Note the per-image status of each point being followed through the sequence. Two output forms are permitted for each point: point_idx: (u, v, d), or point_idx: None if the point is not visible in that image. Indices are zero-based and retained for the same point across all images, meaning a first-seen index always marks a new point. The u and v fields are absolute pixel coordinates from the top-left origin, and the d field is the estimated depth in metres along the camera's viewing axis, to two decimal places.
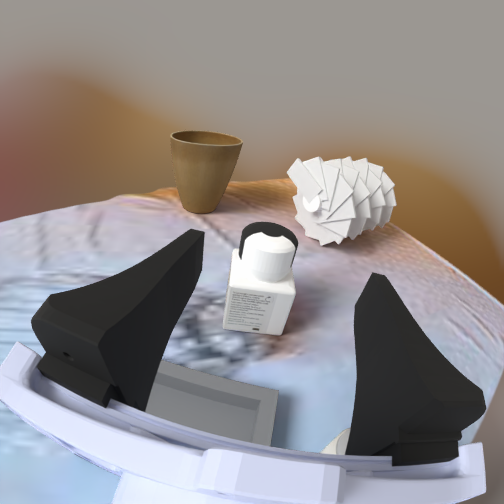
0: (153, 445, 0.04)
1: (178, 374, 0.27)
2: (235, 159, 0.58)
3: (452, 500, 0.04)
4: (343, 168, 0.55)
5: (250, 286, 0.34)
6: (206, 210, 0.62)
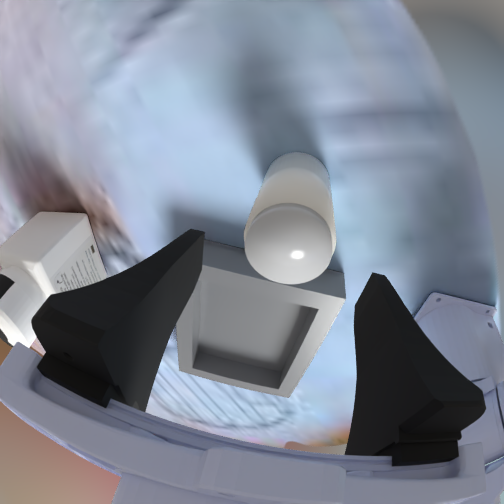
0: (153, 445, 0.04)
1: (187, 340, 0.28)
2: None
3: (452, 500, 0.04)
4: None
5: None
6: None
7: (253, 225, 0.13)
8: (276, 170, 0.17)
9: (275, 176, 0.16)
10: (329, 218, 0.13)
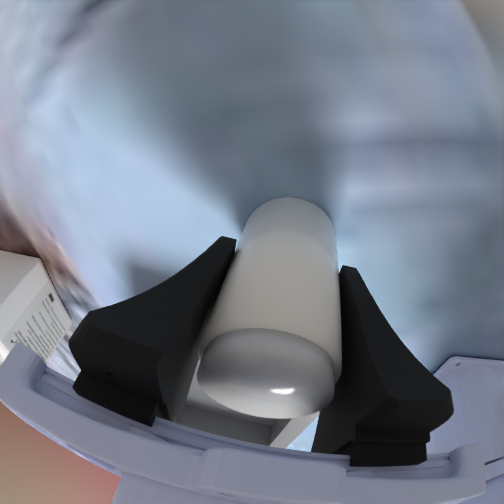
0: (153, 445, 0.04)
1: None
2: None
3: (452, 500, 0.04)
4: None
5: None
6: None
7: (206, 362, 0.08)
8: (254, 236, 0.11)
9: (250, 252, 0.10)
10: (333, 347, 0.08)
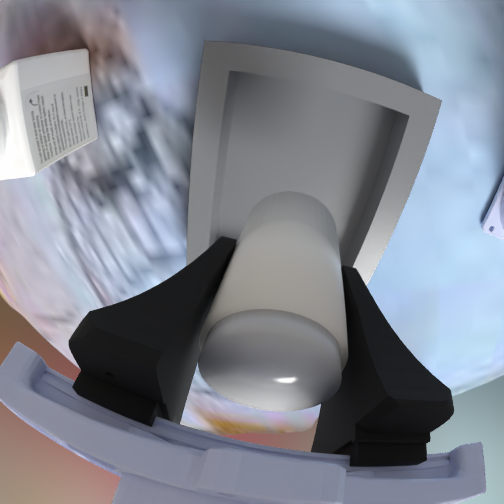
0: (153, 445, 0.04)
1: (205, 204, 0.19)
2: None
3: (452, 500, 0.04)
4: None
5: (23, 142, 0.13)
6: None
7: (209, 345, 0.07)
8: (258, 226, 0.11)
9: (254, 240, 0.10)
10: (340, 331, 0.07)
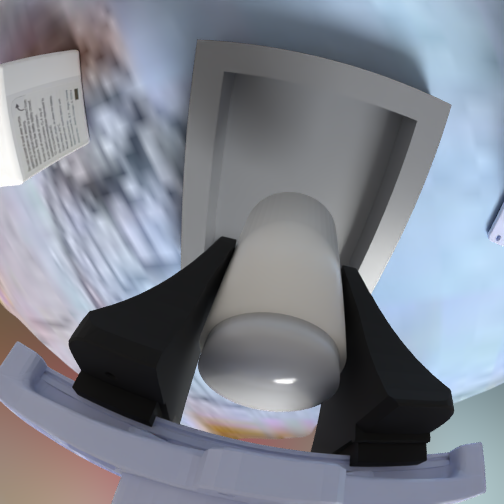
0: (153, 445, 0.04)
1: (199, 213, 0.18)
2: None
3: (452, 500, 0.04)
4: None
5: (9, 150, 0.12)
6: None
7: (208, 348, 0.07)
8: (257, 227, 0.11)
9: (253, 242, 0.10)
10: (339, 333, 0.08)
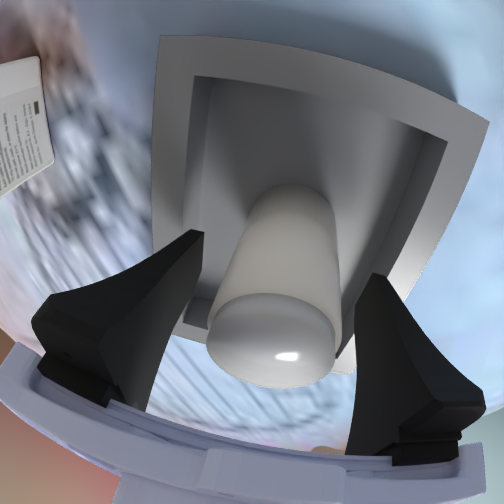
0: (153, 445, 0.04)
1: None
2: None
3: (452, 500, 0.04)
4: None
5: None
6: None
7: (216, 326, 0.08)
8: (261, 217, 0.12)
9: (257, 231, 0.11)
10: (334, 313, 0.08)
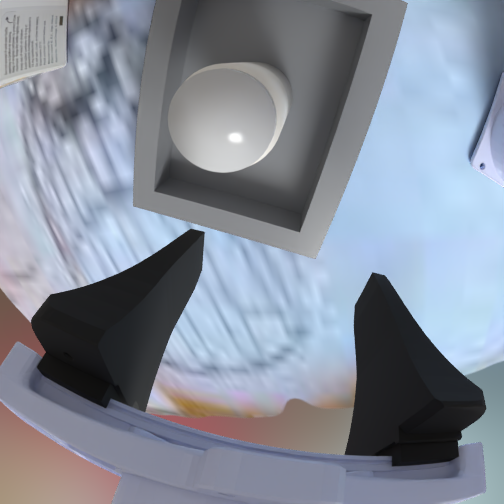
0: (153, 445, 0.04)
1: (154, 111, 0.15)
2: None
3: (452, 500, 0.04)
4: None
5: None
6: None
7: (177, 91, 0.09)
8: None
9: None
10: (272, 87, 0.10)
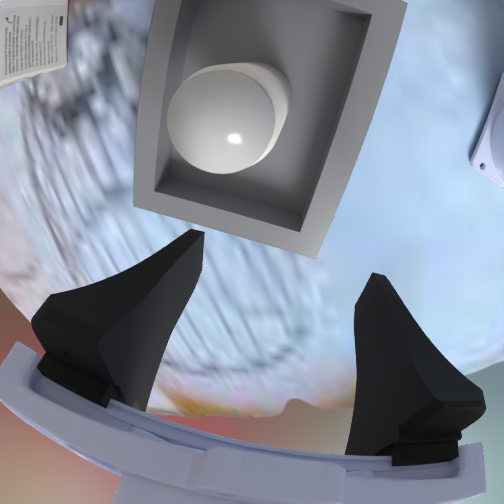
0: (153, 445, 0.04)
1: (154, 111, 0.15)
2: None
3: (452, 500, 0.04)
4: None
5: None
6: None
7: (176, 93, 0.09)
8: None
9: None
10: (271, 88, 0.10)
